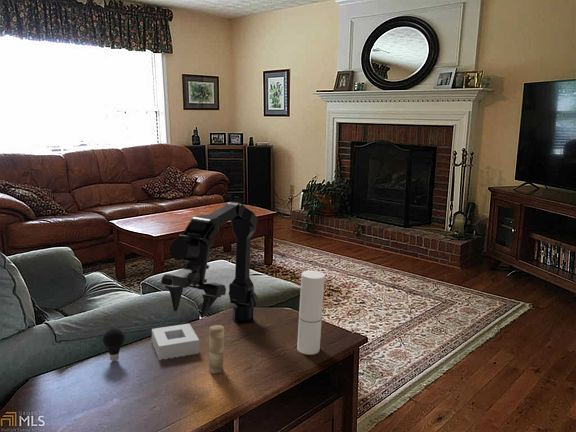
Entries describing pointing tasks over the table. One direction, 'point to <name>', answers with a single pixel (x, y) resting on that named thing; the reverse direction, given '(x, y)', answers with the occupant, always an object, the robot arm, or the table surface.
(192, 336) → the socket block
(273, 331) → the table surface
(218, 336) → the peg
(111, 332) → the light bulb
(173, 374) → the table surface
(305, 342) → the cylindrical container
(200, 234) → the robot arm
